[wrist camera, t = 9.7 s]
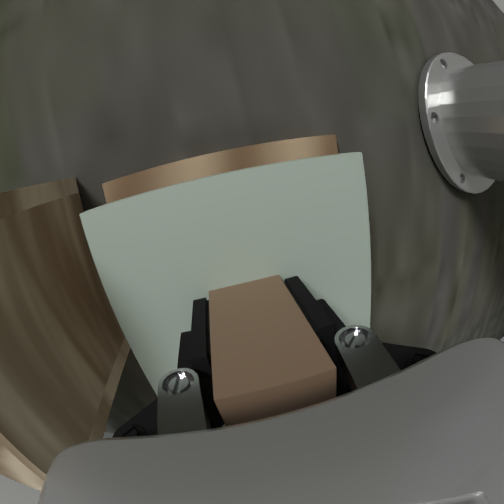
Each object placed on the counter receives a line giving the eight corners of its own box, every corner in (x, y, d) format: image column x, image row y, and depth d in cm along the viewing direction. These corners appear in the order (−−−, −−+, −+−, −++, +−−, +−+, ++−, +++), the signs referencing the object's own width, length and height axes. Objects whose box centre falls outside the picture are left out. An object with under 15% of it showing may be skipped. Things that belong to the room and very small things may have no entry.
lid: (350, 152, 11) (472, 156, 5) (359, 357, 15) (417, 436, 9) (88, 209, 10) (-16, 264, 4) (170, 404, 14) (166, 503, 8)
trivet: (331, 135, 15) (335, 134, 15) (347, 325, 20) (351, 329, 20) (105, 183, 14) (102, 183, 14) (171, 367, 19) (170, 372, 19)
